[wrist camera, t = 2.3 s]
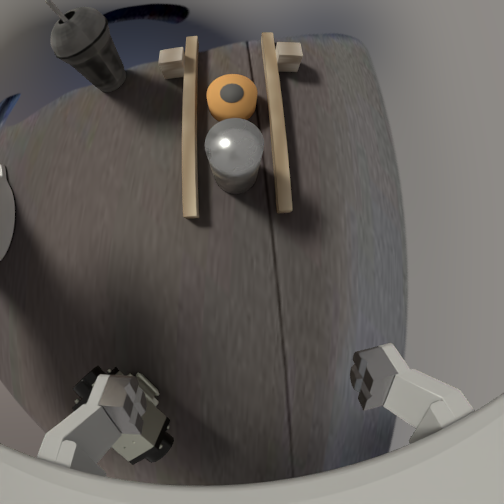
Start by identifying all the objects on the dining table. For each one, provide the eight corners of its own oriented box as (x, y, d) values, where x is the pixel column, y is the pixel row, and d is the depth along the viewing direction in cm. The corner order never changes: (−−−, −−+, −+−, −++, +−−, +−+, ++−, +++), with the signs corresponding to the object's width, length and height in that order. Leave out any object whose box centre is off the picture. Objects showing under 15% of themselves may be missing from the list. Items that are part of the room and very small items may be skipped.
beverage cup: (135, 55, 32) (87, -37, 12) (135, 90, 32) (74, -5, 12) (92, 70, 32) (30, -7, 12) (90, 107, 32) (12, 31, 12)
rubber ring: (203, 120, 33) (200, 109, 30) (215, 83, 33) (213, 70, 30) (250, 128, 33) (251, 117, 30) (259, 90, 33) (261, 77, 30)
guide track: (162, 220, 33) (152, 217, 29) (168, 48, 32) (162, 31, 28) (314, 211, 33) (323, 206, 29) (291, 41, 33) (296, 24, 29)
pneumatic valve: (122, 344, 33) (77, 382, 21) (185, 408, 33) (167, 465, 21) (99, 366, 33) (54, 405, 21) (159, 426, 33) (135, 481, 21)
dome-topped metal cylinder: (210, 189, 33) (198, 165, 23) (219, 150, 33) (212, 113, 23) (252, 197, 33) (257, 176, 23) (260, 158, 33) (268, 123, 23)
